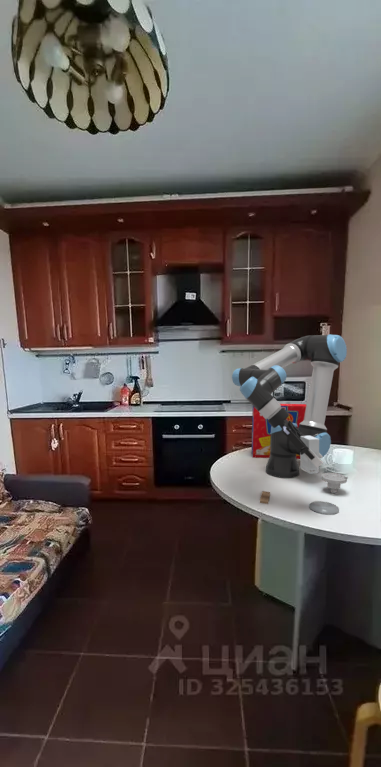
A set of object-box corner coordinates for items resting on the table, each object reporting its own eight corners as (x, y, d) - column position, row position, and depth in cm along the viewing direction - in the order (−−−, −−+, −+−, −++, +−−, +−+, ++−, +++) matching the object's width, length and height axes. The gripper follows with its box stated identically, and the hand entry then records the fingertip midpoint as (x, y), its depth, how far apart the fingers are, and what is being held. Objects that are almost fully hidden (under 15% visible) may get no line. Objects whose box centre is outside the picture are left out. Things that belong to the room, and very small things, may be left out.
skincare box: (319, 473, 129) (320, 439, 127) (307, 473, 128) (309, 439, 126) (310, 467, 135) (311, 434, 133) (298, 468, 134) (300, 435, 132)
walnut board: (262, 493, 146) (262, 491, 146) (270, 493, 145) (270, 491, 145) (259, 502, 136) (259, 500, 136) (267, 503, 135) (268, 501, 135)
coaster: (308, 501, 138) (308, 499, 138) (337, 504, 135) (337, 503, 135) (309, 512, 128) (309, 510, 128) (340, 516, 125) (340, 514, 125)
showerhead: (344, 480, 140) (318, 474, 146) (343, 498, 141) (317, 492, 147) (351, 474, 147) (326, 468, 154) (350, 491, 148) (325, 485, 154)
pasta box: (252, 457, 195) (253, 405, 192) (251, 453, 203) (252, 403, 200) (306, 459, 192) (308, 406, 190) (303, 455, 200) (305, 404, 198)
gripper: (269, 415, 144) (311, 460, 140) (263, 425, 125) (311, 477, 121) (284, 402, 141) (327, 448, 138) (279, 411, 123) (329, 463, 119)
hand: (319, 461), depth 130 cm, fingers closed on skincare box, 7 cm apart
